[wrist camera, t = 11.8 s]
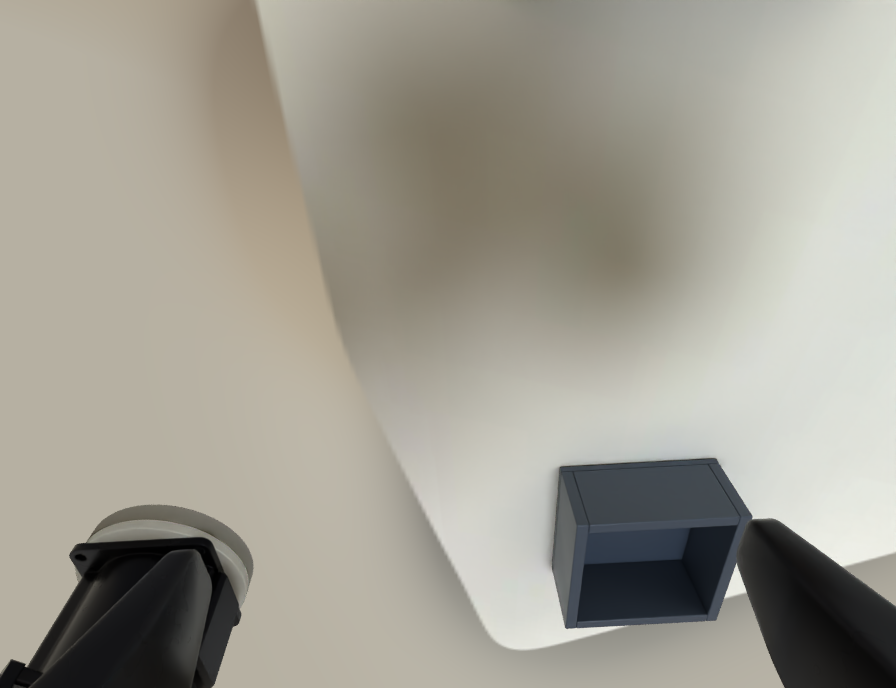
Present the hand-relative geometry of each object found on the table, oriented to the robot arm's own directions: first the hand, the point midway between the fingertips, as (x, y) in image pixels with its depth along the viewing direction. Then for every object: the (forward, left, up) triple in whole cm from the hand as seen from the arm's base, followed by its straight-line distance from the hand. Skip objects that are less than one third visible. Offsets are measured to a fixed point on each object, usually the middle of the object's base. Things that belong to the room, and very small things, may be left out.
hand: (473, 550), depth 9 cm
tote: (+8, -14, -12) cm, 20 cm away
